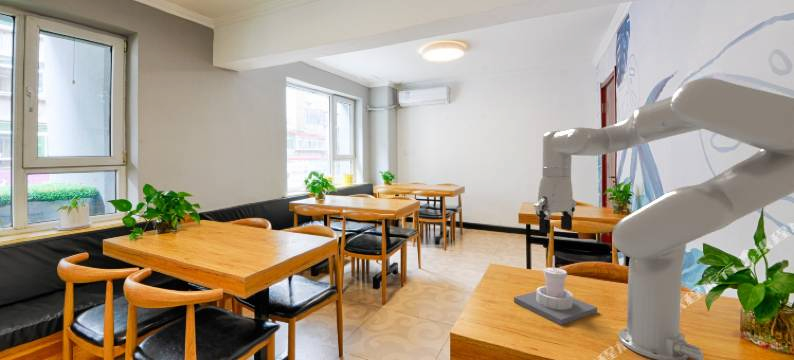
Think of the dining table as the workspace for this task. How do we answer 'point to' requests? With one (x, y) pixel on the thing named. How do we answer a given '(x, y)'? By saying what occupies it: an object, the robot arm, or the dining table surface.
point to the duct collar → (555, 306)
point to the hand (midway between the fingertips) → (555, 230)
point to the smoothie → (555, 280)
